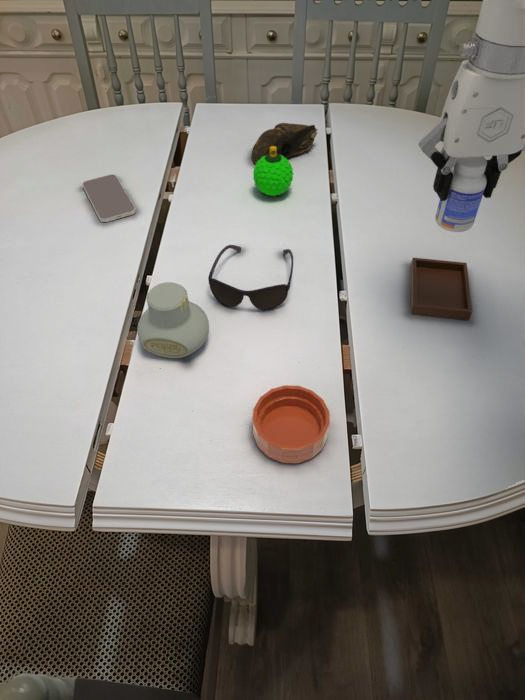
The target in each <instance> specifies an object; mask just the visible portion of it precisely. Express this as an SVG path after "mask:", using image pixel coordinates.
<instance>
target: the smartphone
mask: <svg viewBox="0 0 525 700" xmlns="http://www.w3.org/2000/svg"><path fill="white" fill-rule="evenodd" d="M82 188H83V190H84V193H85V194H86V196H87V198H88V200H89V202H90V204H91V206H92V207H93V210H94V212H95V214H96V216H97V217H98V220H99V221H100V222H101V223H109V222H112V221H115V220H119V219H122V218H125V217H129V216H132V215H135V214H136V211H137V209H136V206H135V205H134V203H133V201H132V200H131V198H130V196H129V195H128V193H127V191H126V190H125V188H124V187H123V185H122V183H121V181H120V179H119V178H118V176H117V175H116V174H113V173H112V174H111V173H110V174H107V175H103V176H100V177H99V176H98V177H96V178H92V179H89V180H84V181H83V182H82Z"/></svg>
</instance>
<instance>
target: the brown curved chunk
mask: <svg viewBox="0 0 525 700" xmlns="http://www.w3.org/2000/svg"><path fill="white" fill-rule="evenodd" d="M317 131H319V130H318V128H316V124H310V125H307V124H301V123H288V122H280V123H277V124H276V125H275V126H274V128H270V129H267V130H265V131H263V132H262V133H261V134H260V136H258V139H257V140H256V141H255V143H254V144H253V148H252V150H251V161H252V163H253V164H255V165H256V164H257V162H258V160H260V159H261V157H263V156H265V155H267V154H269V153H270V147H271V146H276V147H277V154H279V155H282V156H284V158H286V159H288V158H290V157H294V156H296V155H299V154H302V153H305V152H307V151H308V150H310V148H311V147H312V146H313V143H314V142H315V139H316V136H317V135H318V132H317ZM272 152H275V151H272Z"/></svg>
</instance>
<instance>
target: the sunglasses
mask: <svg viewBox="0 0 525 700" xmlns="http://www.w3.org/2000/svg"><path fill="white" fill-rule="evenodd" d="M229 249H232V250H234V251H236V252H238V253H240V252H241V251H242V247H241V246H239V245H236V244H228V245H226V246H224V247H223V248H222V249H221V251H220V252H219V253H218V255H217V256H216V257H215V260H214V262H213V264H212V266H211V269H210V271H209V274H208V278H207V279H208V280H207V281H208V284H209V290H210V291H211V294H212V296H213V297H214V298H215V299H216V300H217V302H218V303H220V304H221V305H223V306H225V307H228V308H236V307H238V306H239V305H240V304H242V302H243V300H244V297H248V299H249V302H250V303H251V304H252V306H253V307H255V308H256V309H257V310H260V311H270V310H274V309H275V308H279V306H281V305H282V304H284V302H285V301H286V299H287V297H288V294H289V290H290V288H291V283H292V279H293V272H294V255H293V252H292V250H291V249H289V248H286V249H283V250H282V254H283V256H287V255H288V254H289V255H290V261H291V262H290V263H291V264H290V272H289V276H288V281H287V284H286V283H282V284H276V285H271V286H266V287H260V288H257V289H252V290H243V289H240V288H237V287H235V286H232V285H230V284H227V283H226V282H223V281H221V280H218V279H216V278H213V275H214V272H215V269H216V268H217V265H218V263H219V261H220V259H221V257H222V255H223V254H224V253H225V252H226V251H227V250H229Z"/></svg>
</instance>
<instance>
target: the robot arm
mask: <svg viewBox="0 0 525 700" xmlns="http://www.w3.org/2000/svg"><path fill="white" fill-rule="evenodd" d="M475 26H476V27H475V30H474V32H472V36H471V40H470V41H467V42H464V43H463V42H462V43H460V45H459V48H458V56H459V57H461V58H462V57H463V58H466V59H465V60H462V62H461V64H460V66H459V68H458V70H457V72H456V74H455V76H454V78H453V81H452V83H451V86H450V89H449V91H448V93H447V97H446V100H445V102H444V106H443V109H442V112H441V116H440V119H439V123H438V124H436V126H435V127H434V128H432V129H431V130H430V132H428V133H427V134H426V135H425V136H424V137H422V139H421V140H420V141H419V142H418V147H419V149H420V150H421V152H422V153H423V154H424V155H426V157H427V158H429V159H430V160H431V161H432V163H433V164H434V165H435V166H436V167H437V169H436V172H435V176H434V180H433V184H432V185H433V191H434V193H436V195H437V197H438V198H439V201H440V200H441V201H445V200H447V198H448V194H449V190H450V187H451V183H452V180H453V174H452V172H451V170H452V169H454V165H455V164H456V162H457V160H458V159H459V158H464V157H482V156H483V157H490V159H486V160H487V165H486V168H485V172H484V175H485V176H486V179H487V184H486V187H485V190H484V193H483V196H482V197H484V198H485V199H489V198H490V199H491V198H492V195H493V192H494V189H496V187H497V185H498V182H499V179H500V178H501V177H500V176H501V174H502V172H504V171H506V170H507V169H508V167H509V164H510V163H512V162H513V161H515V160H516V159H517V158H518V157H520V155H522V152H523V153H524V152H525V0H482V3H481V7H480V11H479V14H478V19H477V23H476V25H475ZM439 142H442V143H443V146H442V148H441V150H440V151H439V149H438V148H437V147H436V145H437V144H438V143H439Z"/></svg>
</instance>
